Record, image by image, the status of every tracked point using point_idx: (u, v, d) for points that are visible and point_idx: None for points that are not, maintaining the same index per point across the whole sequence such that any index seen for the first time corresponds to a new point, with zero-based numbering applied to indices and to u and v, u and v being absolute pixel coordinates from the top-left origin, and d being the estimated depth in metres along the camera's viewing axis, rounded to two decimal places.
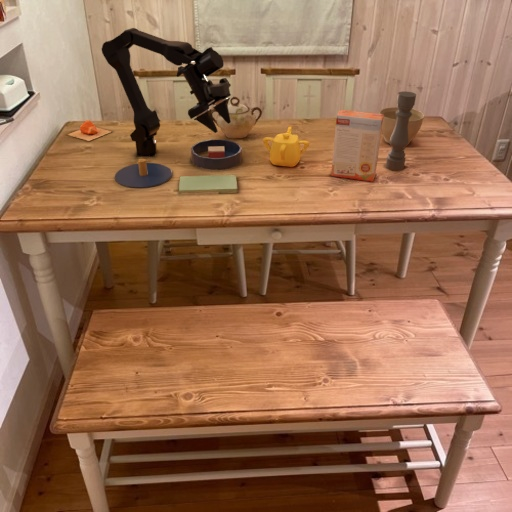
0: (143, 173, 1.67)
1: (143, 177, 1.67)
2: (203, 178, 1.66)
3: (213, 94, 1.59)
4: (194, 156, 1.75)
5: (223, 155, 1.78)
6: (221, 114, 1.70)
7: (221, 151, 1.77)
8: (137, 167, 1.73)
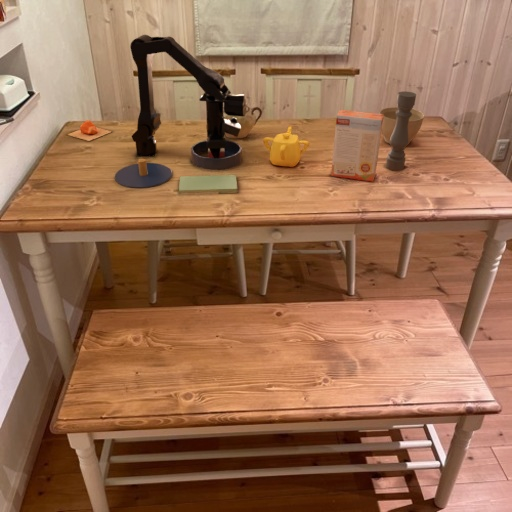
0: (143, 173, 1.67)
1: (143, 177, 1.67)
2: (203, 178, 1.66)
3: (228, 131, 1.73)
4: (194, 156, 1.75)
5: (223, 155, 1.78)
6: None
7: (221, 151, 1.77)
8: (137, 167, 1.73)
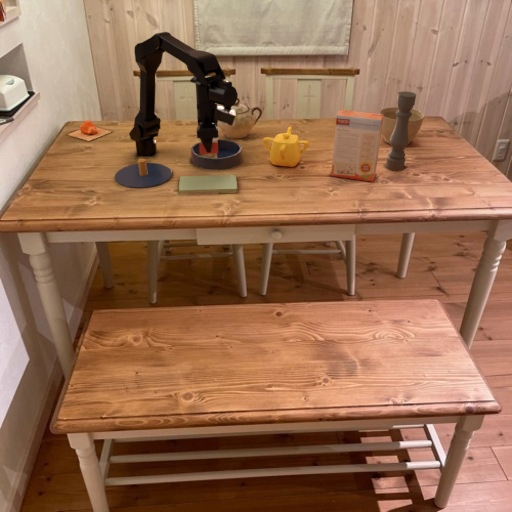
0: (143, 173, 1.67)
1: (143, 177, 1.67)
2: (203, 178, 1.66)
3: (222, 119, 1.53)
4: (194, 156, 1.75)
5: (216, 146, 1.58)
6: None
7: (214, 142, 1.57)
8: (137, 167, 1.73)
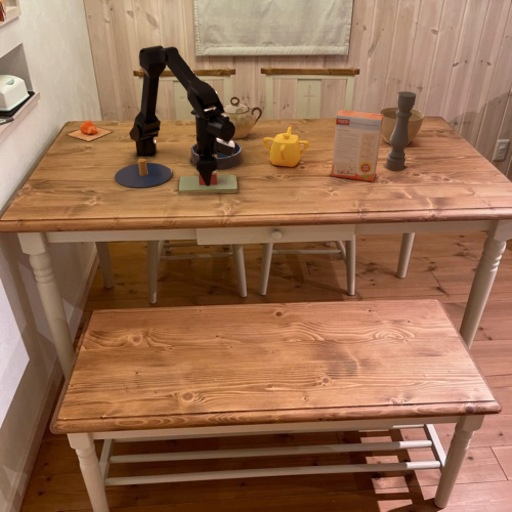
0: (143, 173, 1.67)
1: (143, 177, 1.67)
2: None
3: (221, 151, 1.56)
4: (194, 156, 1.75)
5: (215, 178, 1.61)
6: None
7: (213, 173, 1.60)
8: (137, 167, 1.73)
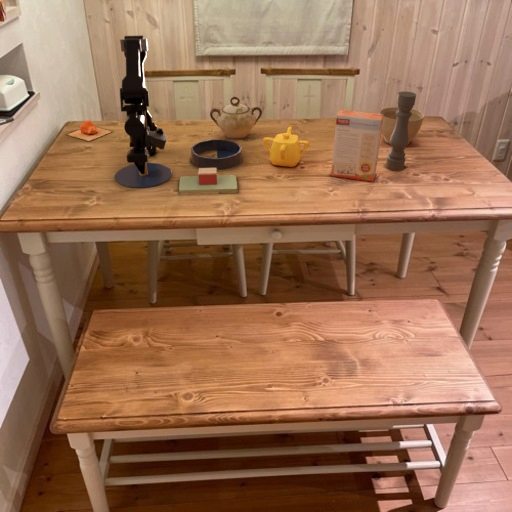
0: None
1: (143, 177, 1.67)
2: None
3: (153, 144, 1.61)
4: (194, 156, 1.75)
5: (215, 178, 1.61)
6: None
7: (213, 173, 1.60)
8: None
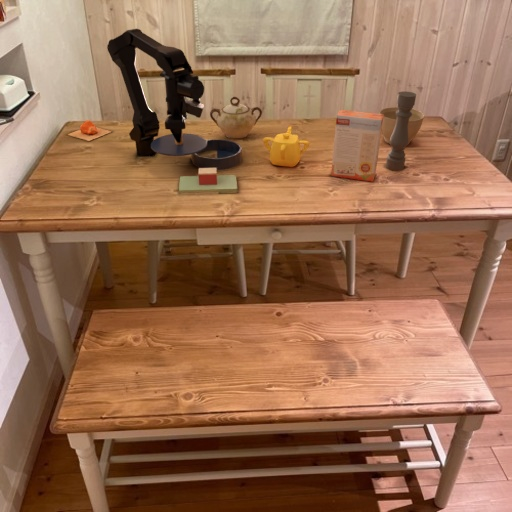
0: None
1: (179, 146, 1.68)
2: None
3: (190, 112, 1.62)
4: (194, 156, 1.75)
5: (215, 178, 1.61)
6: None
7: (213, 173, 1.60)
8: (172, 137, 1.75)
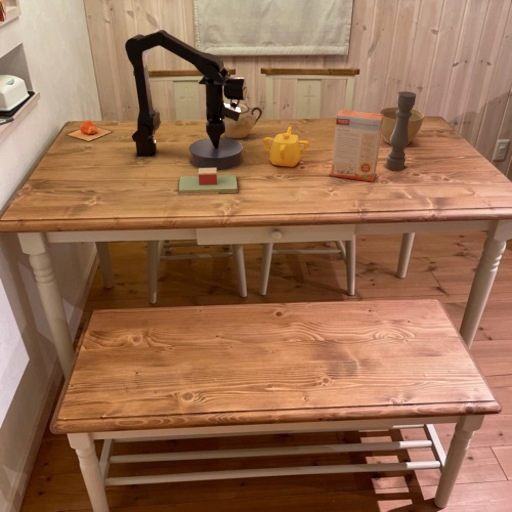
0: None
1: (216, 149, 1.76)
2: None
3: (228, 116, 1.70)
4: (194, 156, 1.75)
5: (215, 178, 1.61)
6: None
7: (213, 173, 1.60)
8: (208, 141, 1.83)
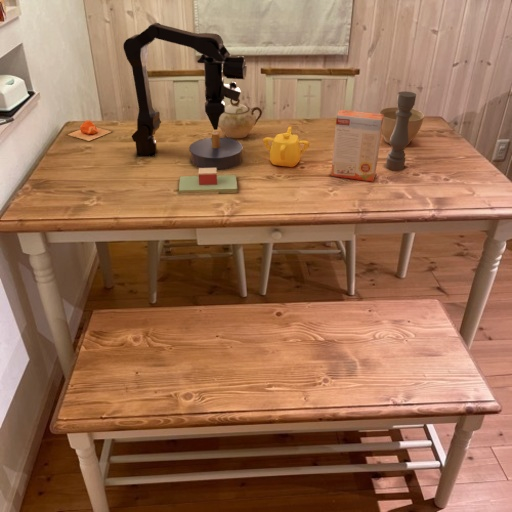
0: (216, 146, 1.77)
1: (216, 149, 1.76)
2: None
3: (228, 96, 1.66)
4: (194, 156, 1.75)
5: (215, 178, 1.61)
6: None
7: (213, 173, 1.60)
8: (208, 141, 1.83)
